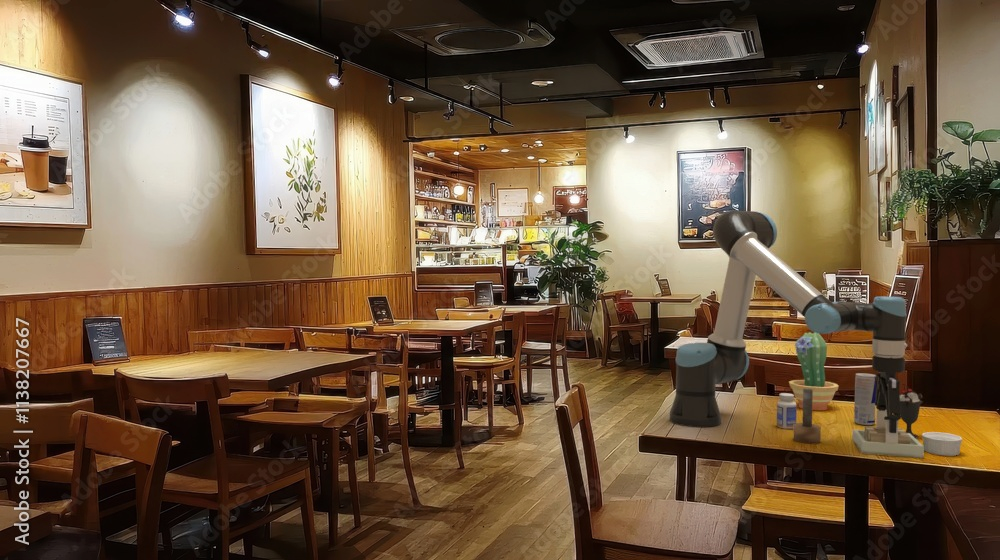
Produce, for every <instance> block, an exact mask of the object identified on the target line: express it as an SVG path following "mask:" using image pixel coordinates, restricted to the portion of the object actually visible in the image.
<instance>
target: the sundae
mask: <svg viewBox="0 0 1000 560" xmlns="http://www.w3.org/2000/svg"><path fill="white" fill-rule="evenodd" d="M902 385H903V390H902V391H901V393H900V413H901V419H900V420H902V421H903V422H904V423H905V424H906V430H905V432H906V433H910V434H911V435H912V436H913V437H914V438H916V439H918V438H920V437H919V435H917V434H915V433H913V430H912V425H913V424H914V423H916V422H917V421H918V418H919V413H920V408H921V405H922V403H923V400H922V399H923V395H922V393H918V394H917V392H915V391H914V390H912V388H910V387H908V386H907V385H906V383H902ZM906 388H907V390H905V389H906Z"/></svg>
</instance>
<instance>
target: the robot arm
mask: <svg viewBox="0 0 1000 560" xmlns="http://www.w3.org/2000/svg"><path fill="white" fill-rule="evenodd" d="M712 234H713V235H712V236H713V238H714V241H715V242H716V244H717V246H718V247H719V248H720V249H721V250H722V251H723V252H724V253H726V255H727V257H728V259H729V260H728V265H727V268H726V269H727V270H726V274H725V278H724V284H723V288H722V292H721V296H720V297H721V298H720V303H719V307H718V312H717V318H716V323H715V326H714V332H713V333H711V334H710V335H708V337H707V339H706V340H707V341H706V342H690V343H685V344H682V345H680V346H679V347H678V348H677V350H676V356H675V396H674V400H673V402H672V405H671V408H670V410H669V421H670V422H671V423H673V424H676V425H681V426H687V427H696V428H697V427H699V428H700V427H701V428H703V427H704V428H705V427H706V428H707V427H708V428H709V427H715V426H717V427H718V426H719V425H721V424H722V414H721V411H720V408H719V405H718V402H717V401H718V400H717V398H716V389H717V387H716V386H717V385H718V384H724V383H731V382H734V381H737V380H739V379H741V378H742V377H744V375H745V374H746V373H747V371H748V369H749V366H750V357H749V355H748V352H747V350H746V347H747V344H746V342H745V340H744V339H743V338H744V332H745V328H746V322H747V318H748V314H749V309H750V304H751V301H752V300H751V299H752V294H753V291H754V286H755V282H756V281H755V280H756V276H757V277H758V278H759V279H760V280H762V281H763V282H764V283H765V284H766V285H767V286H768V287H770V288H771V289H772V290H773V291H774V292H776V293H777V294H778V295H779V297H781V298H782V299H783V300H784V301H786V303H788V304H789V305H790V306H791V307H793V308H794V309H795V310H796V311H797V312H798V313H799V314H800V315H801V316H803V317H804V322H805V324H806V327H807V328H808V329H809V330H810V331H811V332H813V333H819V334H822V335H823V334H825V335H829V334H833V333H839V332H848V331H858V332H872V345H871V346H872V350H871V351H872V354H873V356H872V358H871V359H872V364H871V367H872V369H873V370H874V371H876V372H877V373H876V375H877V376H876V399H875V409H876V420H875V424H876V425H875V427H882V428H886V435H885V443H897V444H898V429H899V421H900V420H902V419H901V413H900V395H901V393H900V383H901V381H900V379H898V378H897V377H896V375H897V373H904V372H905V370H906V368H905V367H906V366H905V365H906V359H905V357H903V356H905V355H906V349H905V348H908V344H907V343H906V331H907V330H906V329H907V327H906V326H907V316H908V315H907V303H906V299H904V298H903V297H900V296H885V295H883V296H875V297H874V298H873V302H870V303H869V302H868V303H865V302H864V303H863V302H852V301H831V300H830V299H828V298H827V296H825V295H824V294H823V293H822V292H821V291H819V290H818V289H817V288H816V287H814V285H812V284H811V283H810V282H809V281H808V280H806V279H805V278H804V277H802V275H801V274H799V273H798V272H797V271H795V270H794V269H793V268H792V267H791V266H790V265H789V264H787V263H786V262H785V261H784V260H783V259H782V258H780V257H779V256H778V255H777V254H775V253H774V252H773V250H771V247H772V246H773V245H774V244H775V243H776V240H777V237H778V229H777V226H776V223H775V221H774V220H773V218H772V217H770V216H769V215H768V214H765V213H762V212H758V211H753V210H752V211H749V210H736V209H734V210H728V211H726V212H724V213H722V214H721V215H720V216H719V217H718V218H716V220H715V222H714V224H713V229H712Z"/></svg>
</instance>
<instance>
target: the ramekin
mask: <svg viewBox="0 0 1000 560" xmlns="http://www.w3.org/2000/svg"><path fill="white" fill-rule="evenodd" d="M921 437H922V441H923V442H922V443H923V444H922V445H923V446H924V452H926V453H929V454H931V455H935V456H943V457H957V456H959V455H960V452H961V445H962V444H961V443H962V442H963V438H962V437H961V436H960V435H957V434H953V433H948V432H939V431H929V432H928V431H927V432H923V433H922V434H921ZM956 455H957V456H956Z"/></svg>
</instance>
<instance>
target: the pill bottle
mask: <svg viewBox="0 0 1000 560" xmlns="http://www.w3.org/2000/svg"><path fill="white" fill-rule="evenodd" d="M778 395H779V400H778V401H777V403H776V427H777V428H780V429H786V430H794V424H796V423H797V408H798V407H797V403H796V401H794V400H795V395H794V393H789V392H788V393H787V392H781V393H779V394H778Z"/></svg>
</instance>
